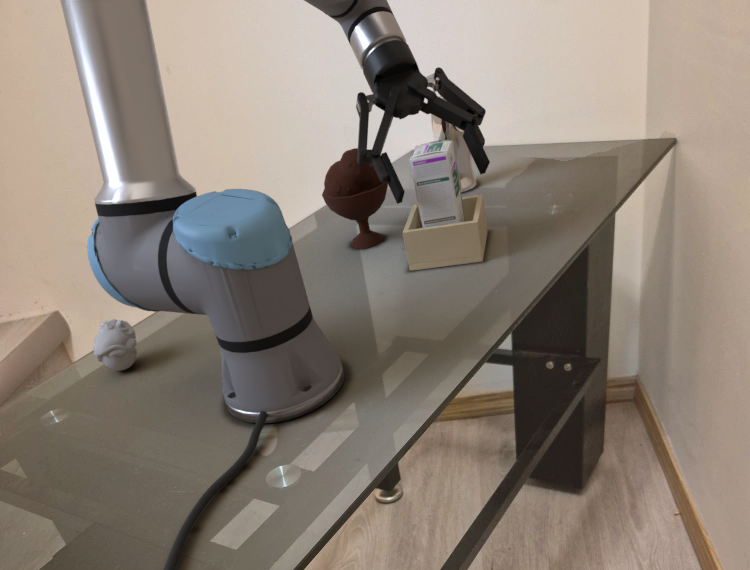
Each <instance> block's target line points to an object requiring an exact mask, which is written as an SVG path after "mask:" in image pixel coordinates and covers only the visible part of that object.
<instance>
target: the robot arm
mask: <svg viewBox="0 0 750 570" xmlns="http://www.w3.org/2000/svg"><path fill="white" fill-rule="evenodd" d="M59 1H60V5H61V8H62V13H63V17H64V21H65V26H66V30H67V33H68V38H69V42H70V46H71V50H72V51H71V52H72V55H73V59H74V64H75V68H76V72H77V76H78V80H79V81H78V82H79V84H80V88H81V93H82V97H83V101H84V106H85V109H86V114H87V118H88V122H89V126H90V130H91V135H92V138H93V143H94V147H95V152H96V156H97V161H98V164H99V168H100V172H101V177H102V180H103V183H102V186H101V188H100V190H99V191H98V193H97V194H96V196H95V197H94V200H93V201H94V206H95V209H96V213H97V216H98V217H97V218H96V219H95V221H94V222H93V224H92V226H91V229H90V230H91V234H90V235H88V236H87V258H88V263H89V267H90V268H91V271H92V273H93V275H94V278H95V279H96V281H97V282H98V284H99V286H100V287H101V288H102V289H103V290H104V291H105V292H106V293H107V294H108V295H109V296H110V297H111V298H113V299H114V300H116V301H117V302H118V303H121V304H123V305H126V306H128V307H132V308H137V309H139V310H142V311H146V312H154V313H158V312H167V313H168V312H169V313H179V314H190V315H201V316H202V315H203V316H207V318H208V320H209V323H210V325H211V328H212V331H213V333H214V335H215V338H216V340H217V343H218V346H219V349H220V363H221V364H220V365H221V389H222V396H223V399H224V402H225V404H226V407H227V410H228V411H229V413H230V414H231V416H233V417H235V418H236V419H238V420H240V421H243V422H246V423H252V424H254V426H253V429H252V431H251V434H250V436H249V439H248V443H247V445H246V448H245V450H244V451H243V452H242V453H241V455H240V456H239V458H238V459H237V460H236V461H235V462H234V463H233V464H232V465H231V466H230V467H229V468H228V469H227V470H226V471H225V472H224V473H223V474H222V475H221V476H219V478H217V479H216V480H215V481H214V482H213V483H212V484H211V485H210V486H209V487H208V488H207V490H206V491H204V493H202V495H201V497H200V498H199V499H198V501H197V502H196V503H195V505H194V506H193V507H192V509H191V511H190V512H189V514H188V515H187V517H186V518H185V520H184V522H183V524H182V526H181V528H180V530H179V532H178V534H177V536H176V537H175V540H174V542H173V544H172V547H171V550H170V552H169V554H168V557H167V560H166V562H165V566H164V568H163V570H176V567H177V564H178V561H179V559H180V555H181V553H182V550H183V548H184V546H185V544H186V541H187V539H188V537H189V535H190V532H191V530H192V529H193V527H194V525H195V523H196V521H197V520H198V518H199V517H200V515H202V514H201V513H203V511H204V510H205V508H206V506H207V505H208V504H209V502H210V501H211V500H212V499H213V498H214V496H216V495H217V493H218V492H219V491H221V489H222V488H223V487H225V486H226V485H227V484H228V483H229V482H230V481H231V480H232V479H233V478H234V477H235V476H236V475H237V474H238V473H239V472H240V471H241V470H242V469H243V468H244V466H246V464H247V463H248V462H249V460H250V459H251V457H252V455H253V454H254V452H255V451H256V447H257V445H258V442H259V439H260V435H261V433H262V431H263V428H264V425H265V424H273V423H279V422H284V421H289V420H292V419H295V418H298V417H301V416H303V415H306V414H308V413H310V412H312V411H314V410H316V409H318V408H319V407H321V406H323V405H324V404H326V403H327V402H328V401H330V400H331V399H332V398H333V397H335V395H336V394H337V393H338V392H339V390H340V389H341V387H342V386H343V384H344V381H345V370H344V367H343V363H342V360H341V358H340V356H339V354H338V352H337V351H336V349H335V348H334V346H333V345H332V343H331V342H330V341H329V339H328V337H327V336H326V335H325V333H324V332H323V331H322V329H321V327H320V326H319V324H318V323H317V321H315V318H314V316H313V312H312V308H311V305H310V300H309V298H308V294H307V290H306V286H305V283H304V279H303V276H302V272H301V269H300V264H299V261H298V257H297V254H296V250H295V247H294V242H293V236H292V234H291V231H290V228H289V227H288V225H287V223H286V221H285V220H286V219H285V218H284V215H283V212H282V209H281V208H280V206H279V204H278V202H276V200H275V199H274V198H273V197H271V196H270V195H268V194H266V193H264V192H261V191H259V190H254V189H248V188H247V189H246V188H229V189H228V188H227V189H224V190H222V191H216V190H215V191H210V192H206V193H203V194H200V195H198V193H197V189H196V187H194V185H193V184H191V183H190V182H189V181H187V180H186V179H185V178H184V177H183V176H182V174H181V173H180V169H179V163H178V159H177V153H176V148H175V144H174V138H173V133H172V127H171V123H170V118H169V117H170V116H169V112H168V107H167V101H166V97H165V92H164V91H165V90H164V86H163V82H162V75H161V70H160V66H159V60H158V55H157V51H156V50H157V49H156V43H155V39H154V33H153V29H152V25H151V19H150V14H149V9H148V4H147V0H59ZM303 1H304V2H306V3H307V4H309V5H311V6H313V7H314V8H316V9H318V10H319V11H321V12H322V13H323V14H325V15H326V16H328V17H329V18H330V19H332V20H334V21H335V22H337V23H338V24H339V26H340V27H341V29H342V31H343V32H344V35H345V37H346V39H347V41H348V43H349V45H350V48H351V50H352V52H353V54H354V56H355V58H356V61H357V63H358V65H359V67H360V69H361V70H362V73H363V76H364V78H365V80H366V82H367V85H368V87H369V89H370V91H371V93H372V94H371V93H370V94H367V95H366V93H364V92H362V91H360V92H358V93H357V95H356V102H355V108H356V112H357V114H358V117H359V121H358V136H357V137H358V138H357V148H358V152H357V163H358V164H359V165H364V164H365V163H370V167H371V168H374V169H375V171H376V173H377V175H378V178H379V180H380V181H381V182H382V183H384V182H387V183H388V187H389V190H390V191H391V193H392V196H393V198H394V200H395V202H396V204H397V205H398V204H401V203H403V199H404V195H405V189H404V187H403V185H402V183H401V181H400V179H399V176H398V174H397V172H396V170H395V168H394V165H393V163H392V161H391V159H390V157H389V154H388V152H387V151H385V152H383V149H384V146H385V143H386V140H387V137H388V134H389V131H390V128H391V126H392V123H393V120H394V118H395V119H399V120H403V119H405V118H407V117H408V116H416V115H418V114H419V113H420V112H421V113H424V114H426V115H431V114H432V115H434V116H436V117H438V118H440V119H442V120H444V121H446V122H448V123H450V124H452V125H454V126H456V127H457V128H459V129H461V130H463V131H464V134H463V138H464V140H465V143H466V145H467V147H468V149H469V151H470V153H471V155H472V160H473V162H474V163H475V166H476V168H477V170H478V172H479V174H480V175H483V174H486V172H487V170H488V168H489V165H490V163H491V161H490V159H489V157H488V155H487V153H486V151H485V149H484V146H485V144H486V138H485V137H484V134H483V132H482V130H481V128H480V126H482V124H483V121H484V118H485V116H486V111H487V110H486V109H485V108H484V107H483V106H482V105H481V104H479V102H477V101H476V100H475V99H473V98H472V97H471V96H470V95H469V94H468V93H466V92H465V91H463V89H461V88H460V87H459V86H458V85H456V83H454V82H453V81H452V80H451V79H449V78H448V76H447V74H446V73H445V71H444V69H443V68H442V67H436V68H435V69H434V72H433V73H432V74H430V75H427V76H426V75H424V74H423V73H422V72H421V71H420V68H419V65H418V63H417V60H416V59H415V56H414V54H413V52H412V51H411V48H410V46H409V44H408V43H407V39H406V38H405V35H404V34H403V31H402V29H401V27H400V25H399V23H398V21H397V18H396V17H395V14H394V13H393V10H392V9H391V6H390V4H389V1H388V0H303ZM431 89H432V90H431ZM437 93H438V95H439V96H438V95H437ZM440 96H442V97H443V98H444V99H445V100H444V99H442V98H440ZM425 100H427V102H425ZM373 106H375V107H377V108H379V110H381V111H383V115H382V117H381V121H380V124H379V127H378V130H377V132H376V136H375V139H374V142H373V145H372V148H371V149H368V137H369V120H370V119H369V118H370V113H371V112H372V110H373Z"/></svg>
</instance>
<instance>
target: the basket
mask: <svg viewBox="0 0 750 570" xmlns="http://www.w3.org/2000/svg"><path fill="white" fill-rule="evenodd" d="M461 197H462V196H461ZM462 204H463V211H464V217H465V222H460V223H453V224H446V225H439V226H433V227H426V228H423V227H422V222H421V217H420V212H419V207H418V203H417V204H412V207H411V210H410V212H409V215H408V216H407V220H406V222H405V225H404V228H403V231H402V237H403V242H404V247H405V253H406V259H407V263H408V268H409V271H410V272H413V271H421V270H429V269H437V268H443V267H452V266H459V265H467V264H468V265H469V264H476V263H481V262H482V263H483V261H484V256H485V250H486V246H487V245H486V244H487V238H488V223H487V222H488V221H487V215H486V206H485V197H484V194H483V193H482V194H474V195H468V196H463V197H462Z"/></svg>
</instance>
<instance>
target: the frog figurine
mask: <svg viewBox="0 0 750 570" xmlns="http://www.w3.org/2000/svg"><path fill="white" fill-rule="evenodd" d="M93 342H94V343H93V344H94V345H93V355H94V356H95V357H96V359H97V361H98V362H99V363H102V364H103V365H104V366H105V367H107V368H108V369H109V370H112V371H116V372H122V371H125V370H127V369H129V368H130V367H132V366H133V364H135V361H136V358H137V353H138V351H137V348H136V346H137V344H138V343H137V336H136V331H135V329H134V327H133V326H132V325H131V323H129V322H128V321H126V320H124V319H123V320H121V319H119V320H118V319H116V318H115V319H108V320H103V321H102V322H100V326H99V329H98V331H97V333H96V334H95V337H94V341H93Z"/></svg>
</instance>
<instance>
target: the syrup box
mask: <svg viewBox="0 0 750 570" xmlns="http://www.w3.org/2000/svg"><path fill="white" fill-rule="evenodd" d="M409 164H410V169H411V174H412V178H413V179H412V180H413V184H414V185H413V186H414V191H415V196H416V202H417V204H418V207H419V212H420V217H421V222H422V227H423V228H426V227H433V226H439V225H446V224H453V223H460V222H465V217H464V211H463V204H462V193H461V191H460V185H459V178H458V172H457V165H456V159H455V152H454V146H453V140H451V139H450V140H439V141H435V140H434V141H433V140H432V141H430V142H426V143H422V144H418V145H415V148H414V150H413V151H412V153H411V156H410V158H409Z"/></svg>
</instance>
